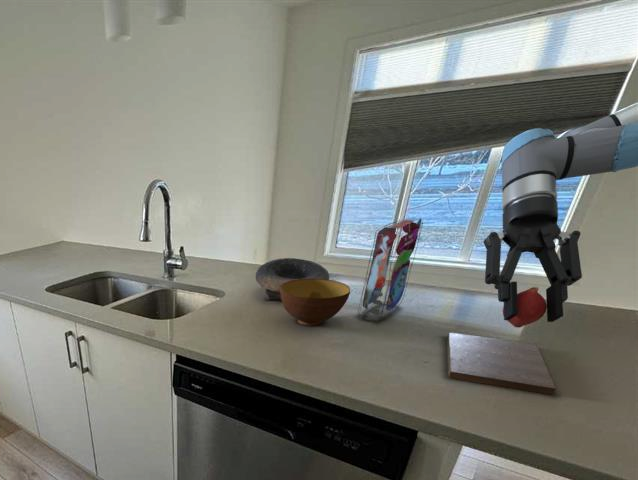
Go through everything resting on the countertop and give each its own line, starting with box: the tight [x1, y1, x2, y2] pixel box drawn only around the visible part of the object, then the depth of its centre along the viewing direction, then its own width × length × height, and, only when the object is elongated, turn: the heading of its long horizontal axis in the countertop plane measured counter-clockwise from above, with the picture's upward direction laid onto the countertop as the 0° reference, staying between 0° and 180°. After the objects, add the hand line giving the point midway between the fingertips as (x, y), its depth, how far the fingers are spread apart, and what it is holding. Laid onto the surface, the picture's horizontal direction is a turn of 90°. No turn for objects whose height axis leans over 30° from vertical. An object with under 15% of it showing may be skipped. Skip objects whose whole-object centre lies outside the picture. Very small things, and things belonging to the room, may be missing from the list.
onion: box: [502, 286, 547, 329], centre depth 75 cm, size 6×6×8 cm
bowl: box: [280, 279, 351, 327], centre depth 113 cm, size 18×18×10 cm
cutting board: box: [446, 332, 557, 396], centre depth 88 cm, size 22×16×2 cm
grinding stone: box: [255, 257, 330, 301], centre depth 135 cm, size 23×25×10 cm
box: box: [357, 218, 424, 323], centre depth 113 cm, size 25×6×24 cm, turn 131°
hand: (532, 317), depth 73 cm, fingers closed on onion, 6 cm apart
